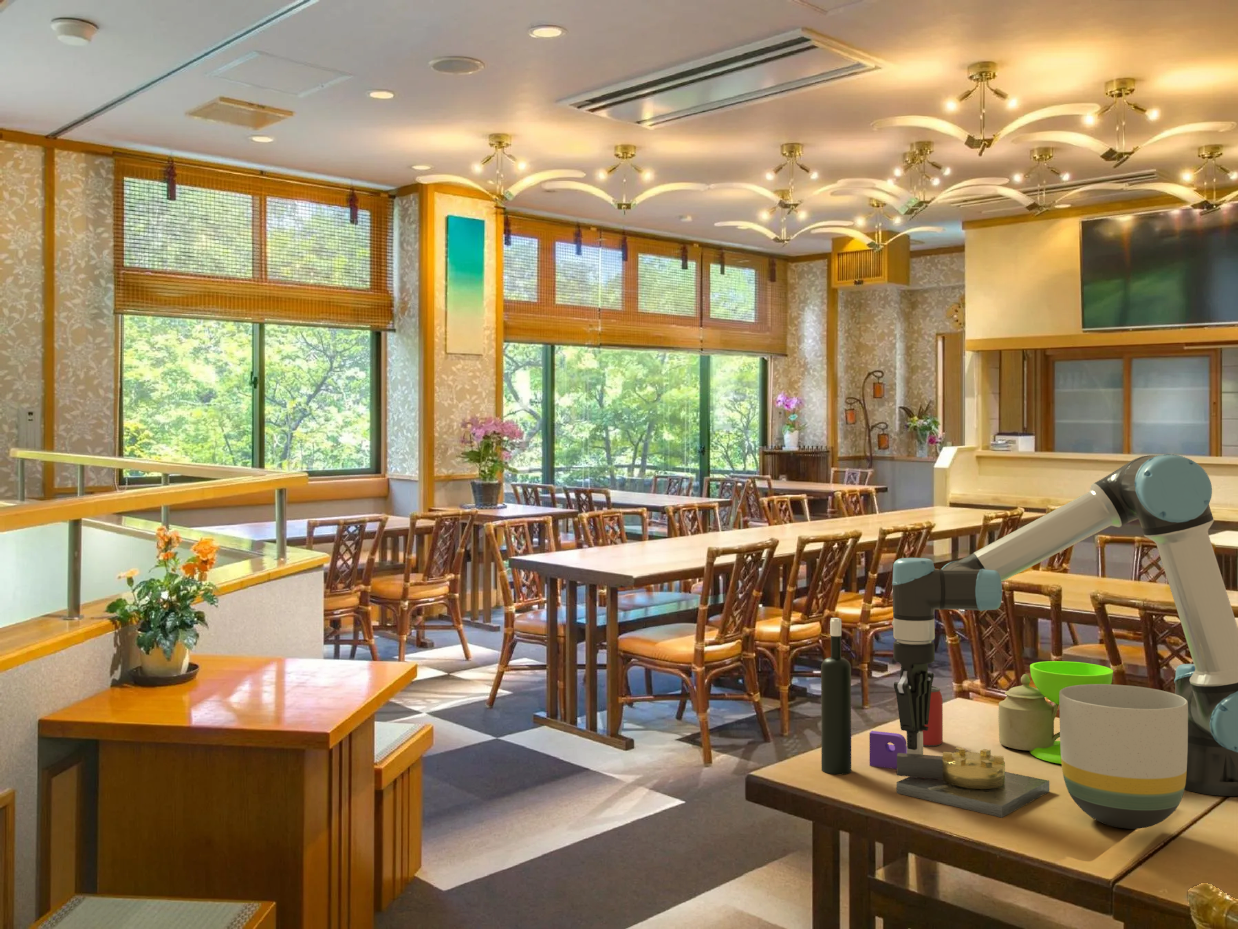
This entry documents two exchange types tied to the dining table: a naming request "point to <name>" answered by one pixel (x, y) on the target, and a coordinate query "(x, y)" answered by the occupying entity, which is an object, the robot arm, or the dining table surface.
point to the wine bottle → (836, 707)
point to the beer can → (934, 720)
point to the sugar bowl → (1026, 718)
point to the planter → (1124, 752)
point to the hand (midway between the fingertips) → (915, 765)
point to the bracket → (886, 748)
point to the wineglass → (1057, 677)
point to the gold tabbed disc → (956, 768)
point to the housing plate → (977, 793)
